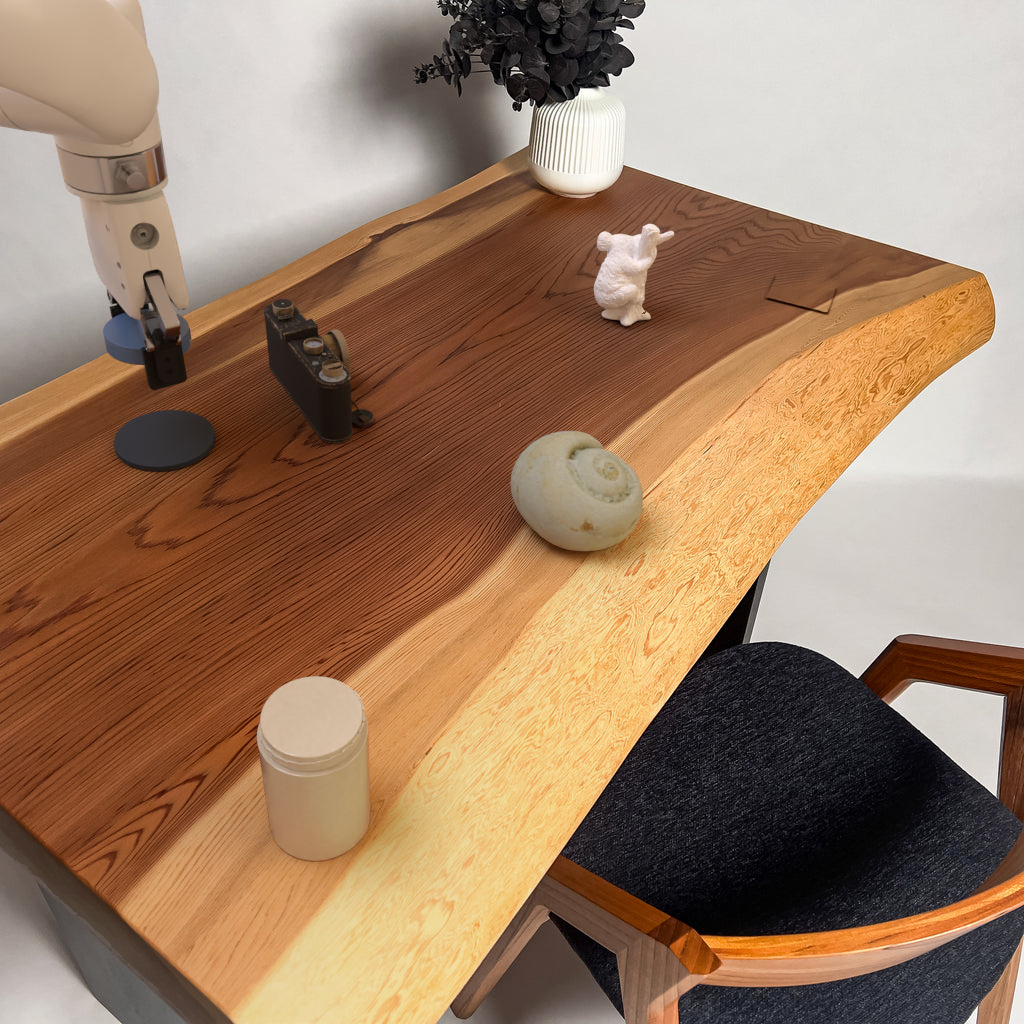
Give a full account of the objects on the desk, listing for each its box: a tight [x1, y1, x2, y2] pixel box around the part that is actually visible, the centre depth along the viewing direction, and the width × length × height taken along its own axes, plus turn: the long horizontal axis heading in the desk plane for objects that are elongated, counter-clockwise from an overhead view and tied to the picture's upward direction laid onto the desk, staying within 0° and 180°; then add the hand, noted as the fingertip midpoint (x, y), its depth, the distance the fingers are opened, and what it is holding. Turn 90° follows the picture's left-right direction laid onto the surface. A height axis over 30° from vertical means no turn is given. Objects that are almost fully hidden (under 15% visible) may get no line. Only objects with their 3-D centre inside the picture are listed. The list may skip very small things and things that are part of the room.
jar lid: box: [102, 308, 192, 366], centre depth 83 cm, size 7×7×2 cm
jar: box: [256, 675, 371, 862], centre depth 59 cm, size 6×6×10 cm
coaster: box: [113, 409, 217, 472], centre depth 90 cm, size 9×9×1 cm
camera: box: [263, 298, 375, 444], centre depth 95 cm, size 16×7×8 cm, turn 31°
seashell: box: [510, 430, 644, 552], centre depth 84 cm, size 13×8×10 cm
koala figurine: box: [593, 223, 675, 327], centre depth 112 cm, size 8×7×12 cm
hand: (151, 362), depth 85 cm, fingers closed on jar lid, 7 cm apart
